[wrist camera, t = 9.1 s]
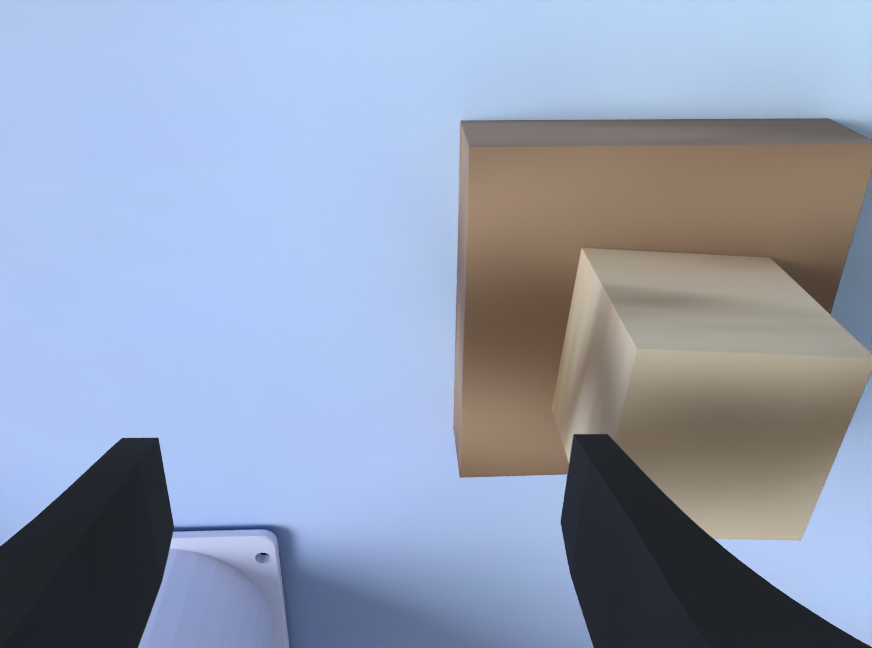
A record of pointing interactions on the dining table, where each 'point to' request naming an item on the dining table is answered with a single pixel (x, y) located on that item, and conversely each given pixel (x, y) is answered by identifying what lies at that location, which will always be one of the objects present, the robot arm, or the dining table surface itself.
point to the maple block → (711, 383)
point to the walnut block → (620, 241)
